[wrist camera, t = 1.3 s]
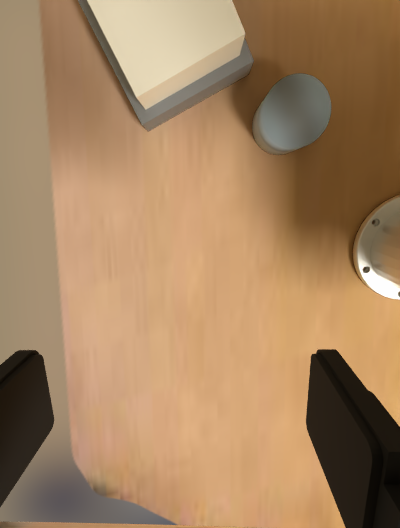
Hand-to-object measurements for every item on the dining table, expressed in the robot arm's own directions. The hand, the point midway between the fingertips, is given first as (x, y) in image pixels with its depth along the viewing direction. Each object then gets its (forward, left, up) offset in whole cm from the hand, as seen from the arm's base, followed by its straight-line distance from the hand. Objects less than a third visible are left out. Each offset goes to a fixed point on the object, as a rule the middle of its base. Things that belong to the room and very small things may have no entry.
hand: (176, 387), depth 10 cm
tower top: (-7, -20, -23) cm, 31 cm away
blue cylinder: (-14, -8, -26) cm, 30 cm away
